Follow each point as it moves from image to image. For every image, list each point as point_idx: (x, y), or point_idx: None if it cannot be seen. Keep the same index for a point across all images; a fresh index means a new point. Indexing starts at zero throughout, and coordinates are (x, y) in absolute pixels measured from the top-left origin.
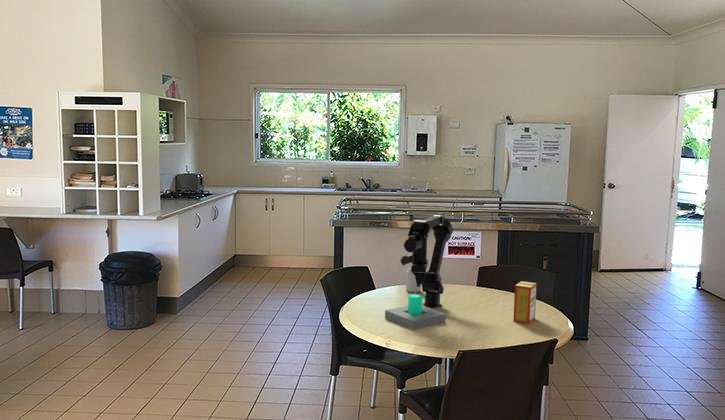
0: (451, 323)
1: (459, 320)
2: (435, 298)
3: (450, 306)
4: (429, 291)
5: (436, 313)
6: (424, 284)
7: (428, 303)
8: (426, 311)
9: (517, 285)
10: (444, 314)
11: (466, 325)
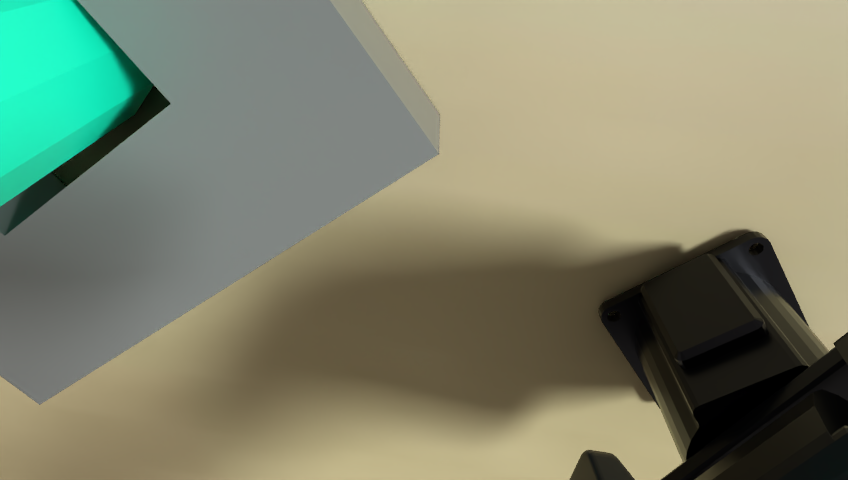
0: None
1: (184, 448)
2: (663, 412)
3: (633, 458)
4: (762, 423)
5: (22, 326)
6: (806, 467)
7: (650, 299)
8: (65, 229)
9: None
10: (27, 392)
11: (56, 467)
